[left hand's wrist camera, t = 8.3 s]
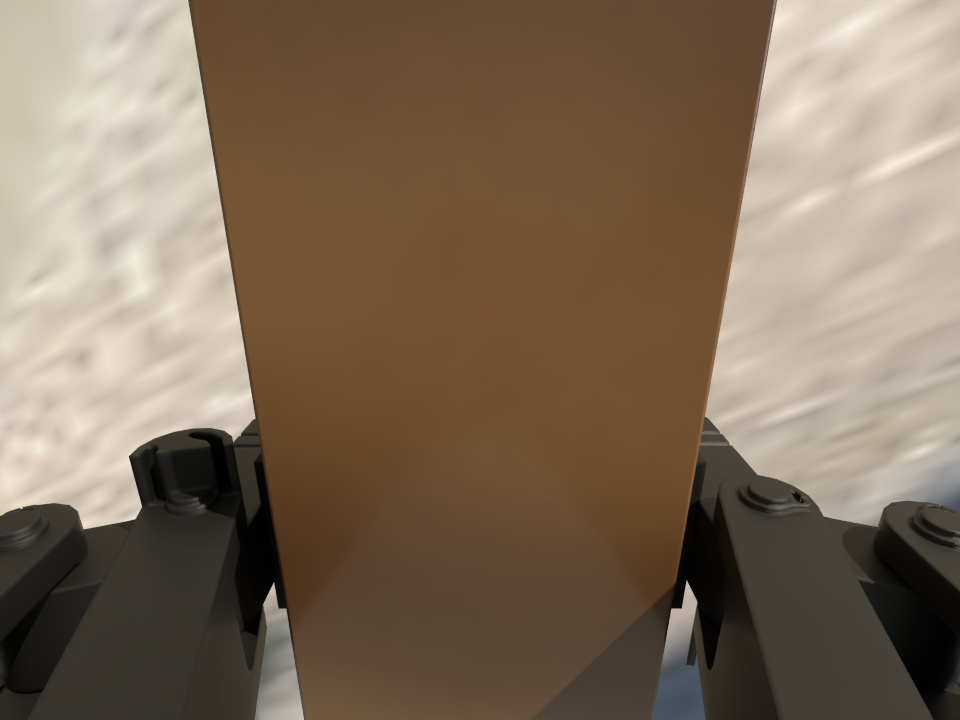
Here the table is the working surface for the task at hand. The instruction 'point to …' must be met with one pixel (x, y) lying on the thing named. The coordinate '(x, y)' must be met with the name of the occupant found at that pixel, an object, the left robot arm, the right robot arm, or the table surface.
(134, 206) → the table surface
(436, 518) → the bar
